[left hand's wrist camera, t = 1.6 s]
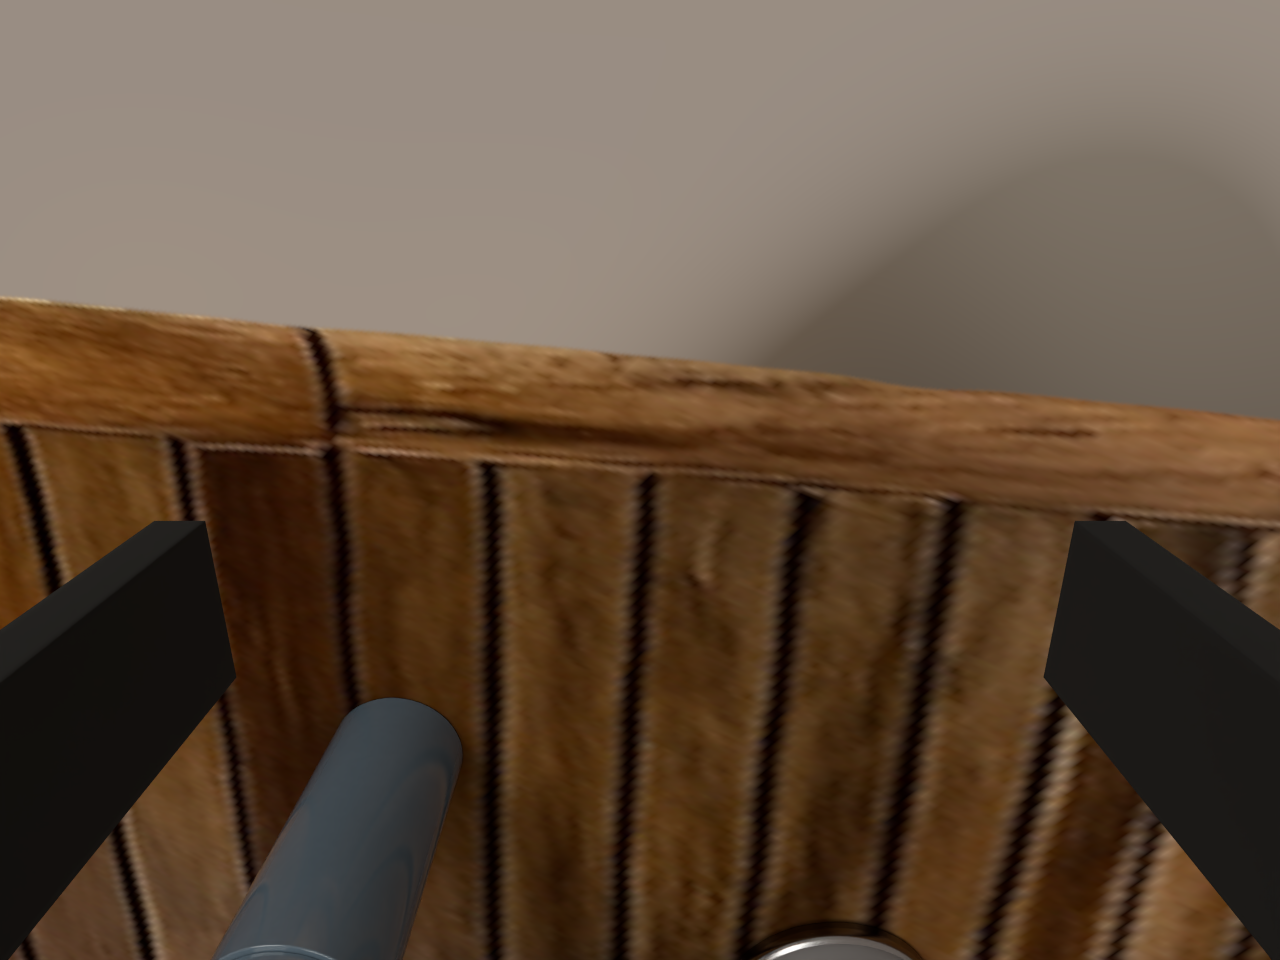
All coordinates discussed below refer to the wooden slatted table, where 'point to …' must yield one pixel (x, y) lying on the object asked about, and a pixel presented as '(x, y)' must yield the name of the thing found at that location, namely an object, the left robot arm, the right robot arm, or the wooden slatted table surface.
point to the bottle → (354, 843)
